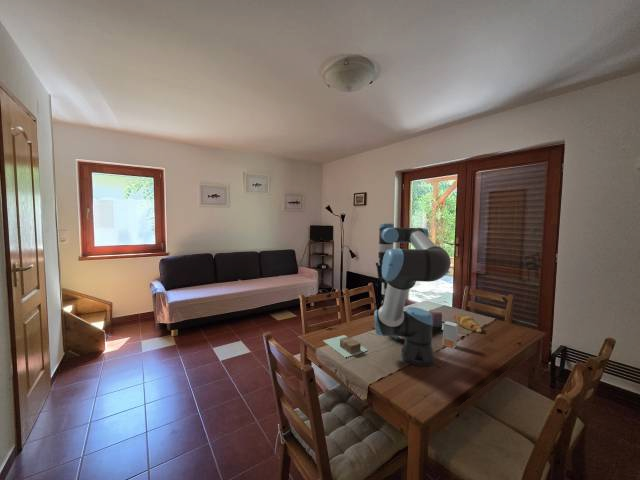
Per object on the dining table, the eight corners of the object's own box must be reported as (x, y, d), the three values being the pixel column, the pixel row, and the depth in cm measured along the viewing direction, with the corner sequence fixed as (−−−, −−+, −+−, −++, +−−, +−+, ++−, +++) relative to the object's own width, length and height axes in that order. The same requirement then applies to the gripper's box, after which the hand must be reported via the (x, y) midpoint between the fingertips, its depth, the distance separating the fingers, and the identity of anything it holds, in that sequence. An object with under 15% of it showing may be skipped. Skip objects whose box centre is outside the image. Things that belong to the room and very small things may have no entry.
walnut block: (349, 343, 141) (360, 351, 133) (339, 346, 138) (350, 354, 130) (349, 336, 140) (360, 343, 133) (340, 338, 137) (350, 346, 130)
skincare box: (442, 345, 141) (443, 323, 140) (444, 342, 144) (446, 320, 143) (454, 349, 137) (455, 326, 136) (457, 346, 140) (458, 323, 139)
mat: (367, 350, 134) (367, 350, 134) (345, 358, 127) (345, 357, 127) (344, 335, 151) (344, 334, 151) (322, 341, 144) (322, 340, 144)
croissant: (484, 339, 157) (490, 326, 157) (472, 332, 154) (478, 320, 154) (457, 324, 177) (463, 313, 177) (446, 318, 174) (452, 307, 175)
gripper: (399, 252, 142) (398, 296, 145) (382, 249, 154) (381, 290, 156) (389, 253, 139) (388, 298, 141) (372, 250, 150) (371, 292, 152)
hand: (384, 294), depth 148 cm, fingers closed
